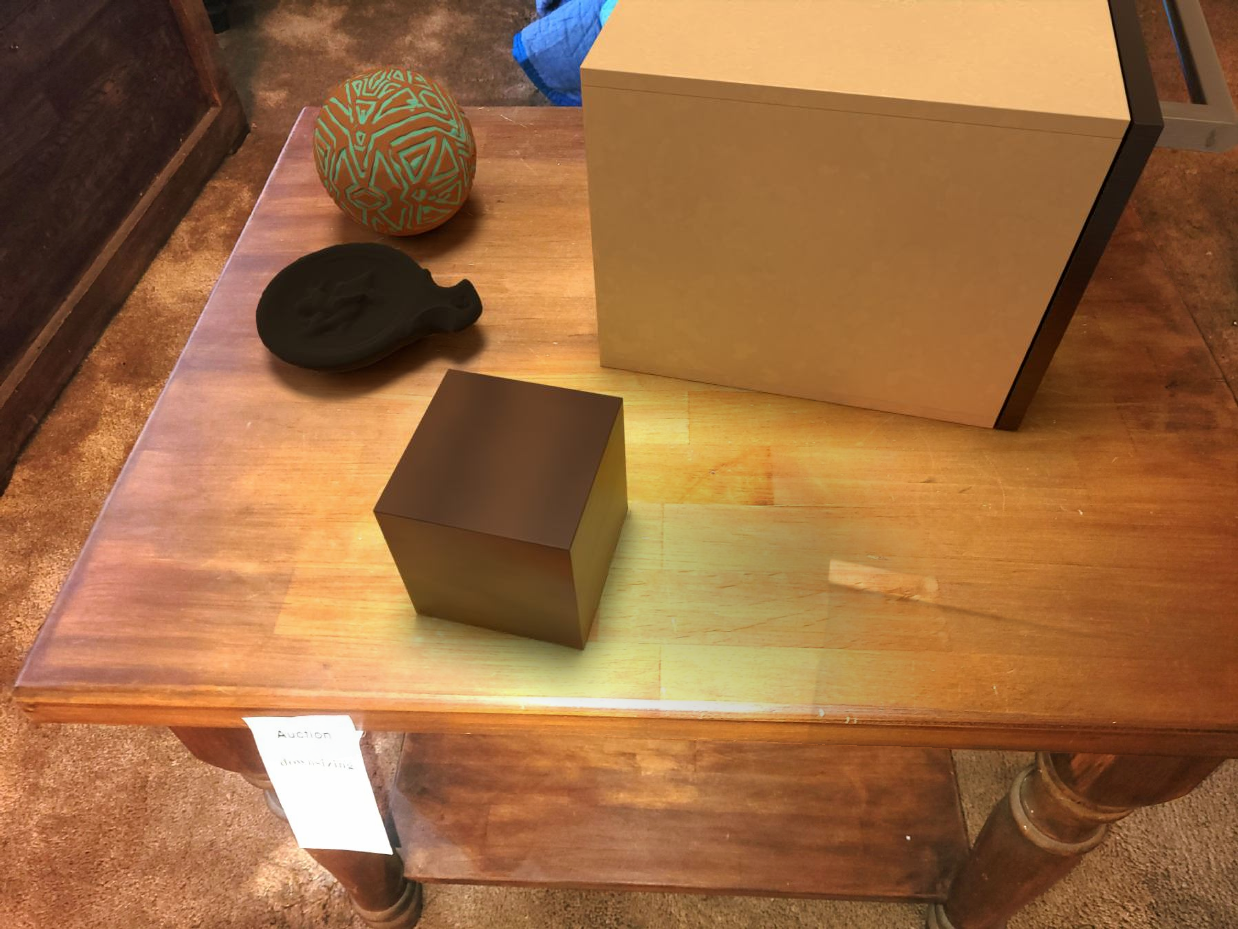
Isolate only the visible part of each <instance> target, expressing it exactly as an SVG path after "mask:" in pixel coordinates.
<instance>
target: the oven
mask: <svg viewBox="0 0 1238 929" xmlns="http://www.w3.org/2000/svg"><path fill="white" fill-rule="evenodd" d="M579 74H580V92H581V93H580V94H581V106H582V107H581V108H582V119H583V135H584V148H585V164H586V165H585V166H586V179H587V192H588V205H589V209H588V210H589V220H590V236H591V237H590V238H591V250H592V262H593V263H592V266H593V267H592V268H593V279H594V294H595V308H596V310H595V311H596V322H597V334H598V336H597V337H598V351H599V353H598V354H599V364H600V367H603V368H604V367H605V368H612V369H616V370H623V371H629V372H630V371H631V372H637V373H642V374H648V375H649V374H650V375H653V376H654V375H655V376H661V377H666V378H667V377H668V378H674V379H680V380H686V381H693V382H699V383H705V384H713V385H717V386H723V387H730V388H734V389H741V390H742V389H743V390H749V391H755V392H761V393H768V394H773V395H780V396H785V397H786V396H787V397H791V398H792V397H793V398H798V399H803V400H804V399H805V400H809V401H810V400H812V401H818V402H823V403H831V404H835V405H841V406H847V407H848V406H849V407H855V408H861V409H866V410H874V411H880V412H887V413H892V414H899V415H904V416H911V417H917V418H924V419H929V420H935V421H941V422H948V423H955V424H959V425H966V426H967V425H968V426H972V427H979V428H984V429H985V428H986V429H993V428H994V426H995V425H996V424H995V423H996V419H997V417H998V415H999V412H1000V410H1001V408H1002V406H1003V404H1004V401H1005V399H1006V397H1007V395H1008V392H1009V390H1010V388H1011V386H1012V384H1013V381H1014V379H1015V377H1016V375H1017V372H1018V370H1019V368H1020V366H1021V363H1022V361H1023V359H1024V357H1025V355H1026V352H1027V350H1028V348H1029V346H1030V343H1031V341H1032V339H1033V337H1034V335H1035V332H1036V330H1037V328H1038V326H1039V323H1040V321H1041V319H1042V317H1043V315H1044V312H1045V310H1046V308H1047V306H1048V303H1049V301H1050V299H1051V297H1052V295H1053V292H1054V290H1055V288H1056V286H1057V283H1058V281H1059V279H1060V277H1061V275H1062V272H1063V270H1064V268H1065V266H1066V263H1067V261H1068V259H1069V257H1070V255H1071V252H1072V250H1073V248H1074V246H1075V243H1076V241H1077V239H1078V237H1079V234H1080V232H1081V230H1082V228H1083V226H1084V223H1085V221H1086V219H1087V217H1088V214H1089V212H1090V210H1091V208H1092V206H1093V203H1094V201H1095V199H1096V197H1097V194H1098V192H1099V190H1100V188H1101V186H1102V183H1103V181H1104V179H1105V177H1106V174H1107V172H1108V170H1109V168H1110V166H1111V163H1112V161H1113V159H1114V157H1115V154H1116V152H1117V150H1118V148H1119V146H1120V143H1121V141H1122V138H1123V136H1124V134H1125V132H1126V129H1127V127H1128V125H1129V123H1130V121H1131V119H1130V114H1129V109H1128V104H1127V99H1126V94H1125V88H1124V83H1123V78H1122V73H1121V68H1120V63H1119V57H1118V52H1117V47H1116V42H1115V37H1114V32H1113V27H1112V21H1111V16H1110V11H1109V6H1108V1H1107V0H617V2H616V4H615V6H614V7H613V9H612V10H611V13H609V16H608V17H607V19H606V21H605V23H604V24H603V26H602V28H601V30H600V31H599V33H598V35H597V37H596V38H595V40H594V42H593V43H592V45H591V47H590V48H589V50H588V52H587V54H586V55H585V57H584V59H583V61H582V62H581V64H580V66H579Z"/></svg>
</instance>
